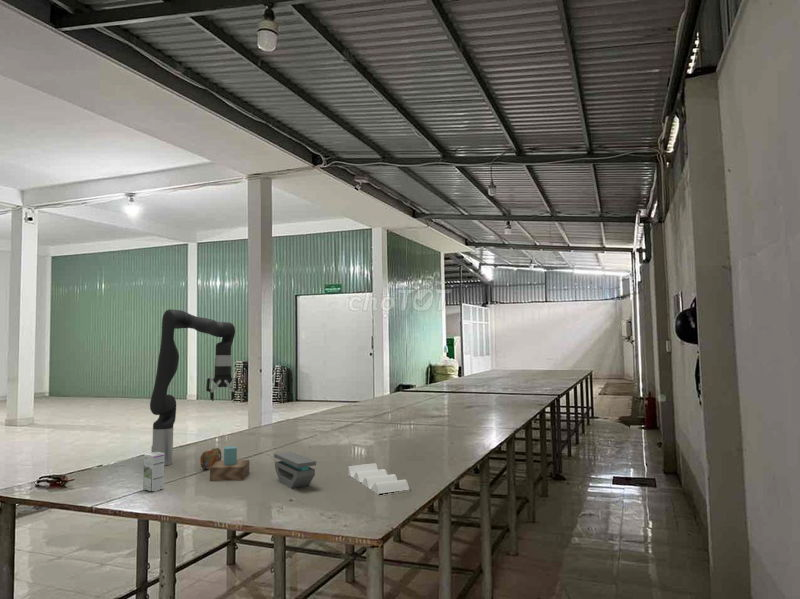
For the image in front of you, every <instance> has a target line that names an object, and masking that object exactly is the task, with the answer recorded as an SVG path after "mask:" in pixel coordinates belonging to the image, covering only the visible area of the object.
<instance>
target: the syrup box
mask: <svg viewBox="0 0 800 599" xmlns="http://www.w3.org/2000/svg"><path fill="white" fill-rule="evenodd" d="M160 489H162V490H164V489H165V466H164V453H160V452H146V453H144V454H143V491H145V490H148V491H147V492H149V491H155V492H157V491H156V490H159V491H161V490H160Z"/></svg>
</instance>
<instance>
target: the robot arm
mask: <svg viewBox="0 0 800 599" xmlns="http://www.w3.org/2000/svg"><path fill="white" fill-rule="evenodd" d="M175 329H178V330H179V329H191V330H192V329H193V330H195V331H197V332H199V333H202V334H207V335H211V336H213V337H216V338H222V339H221V341H220V342H218V343H216V345H215V358H214V365H213V366H214V376H213V377H212V378H210V377H207V379H206V388H205V389H206V392H209V393H210V394H209V395H210V400H211V401H212V402H214V400H215V396H214V395H215V392H214V391H215V390H216V389H217V387H218V388H227V387H228V389H230V391H231V398H230V399H231V401H233V400H235V392H237V391H239V377H238V376H237V377H232V368H233V366H232V363H233V362H232V361H233V360H232V346H233V342H234V338H235V335H236V327H235V325H234V324H233V323H232V322H227V321H226V322H224V321H217V320H215V319H212V318H207V317H200V316H195V315H193V314H191V313H189V312H186V311H184V310H181V309H180V310H179V309H173V308H172V309H170V308H169V309H166V310H165V311H164V313H163V315H162V319H161V336H160V337H161V338H160V340H161V341H160V345H159V346H160V347H159V353H158V354H159V355H158V361H157V368H156V375H155V379H154V381H155V382H154V386H153V390H152V393H151V396H150V402H149V410H150V412H151V413H152V414H153V415H155V416H158V418H157V420H155V421H154V422H153V424H152V441H151V442H152V444H151V452H160V453H164V467H166V466H169V465H172V464H173V459H174V458H173V457H174V456H173V455H174V454H173V453H174V424H175V423H176V414H177V401H176V398H175V396H173V395H172V394H167V393H168V389H169V386H170V383H171V382H172V380H173V379H174V377H175V375H176V373H177V371H178V367H179V360H180V354H179V349H178V348H177V345H176V343H175V337H174V336H175ZM232 381H233V382H234V383H235V388H234V387H233V385H232V384H231V383H232ZM212 382H214V385H213V387H212V388H210V387H211V384H212Z"/></svg>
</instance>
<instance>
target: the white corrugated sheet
mask: <svg viewBox="0 0 800 599" xmlns="http://www.w3.org/2000/svg"><path fill="white" fill-rule="evenodd" d="M347 472H348V473H347V474H348V475H349V476H351V477H353V478H354V479H356V480H357V481H359V482H362V484H363V485H365V486H366V487H368V488H369V489H371V490H372V491H374V492H375V493H377V494H379V495H383V494H388V493H394V492H399V491H403V490H409V489H410V487H409V484H408V481H407V479H398V477H397V475H396V474H394V473H393V474H392V473H391V474H388V473H387V470H386V469H385V468H383V469H381V468H380V469H378V466H377V463H376V462H375V463H373V462H372V463H366V464H355V465H348V471H347ZM363 485H362V486H363ZM366 487H365V488H366ZM369 489H368V490H369ZM371 490H370V491H371ZM372 491H371V492H372ZM374 492H373V493H374ZM375 493H374V494H375ZM377 494H376V495H377ZM379 495H378V496H379Z"/></svg>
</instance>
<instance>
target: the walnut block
mask: <svg viewBox="0 0 800 599" xmlns="http://www.w3.org/2000/svg"><path fill="white" fill-rule="evenodd" d="M248 473H250V460H249V459H237V464H235V465H224V460H221V461H217V462H216V463H215V464H214V465H212V466H211V467H210V469H209V482H222V481H221V480H236V481H244V480H245V479H244V478H246V477H247V476H248V475H249V474H248ZM247 474H248V475H247ZM243 479H244V480H243Z"/></svg>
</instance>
